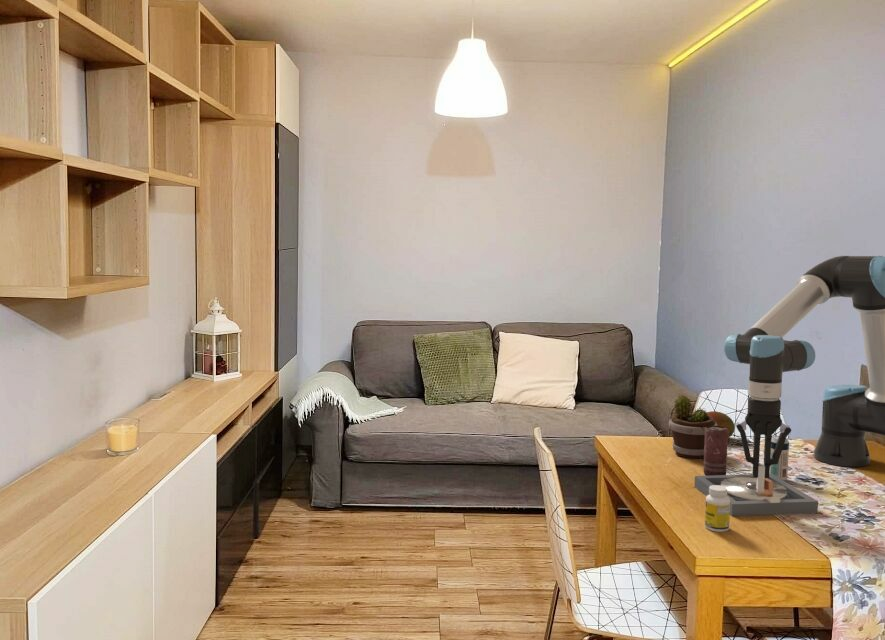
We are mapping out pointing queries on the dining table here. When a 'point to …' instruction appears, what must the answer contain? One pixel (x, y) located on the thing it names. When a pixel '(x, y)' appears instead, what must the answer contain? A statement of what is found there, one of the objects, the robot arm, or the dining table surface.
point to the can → (715, 450)
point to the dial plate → (771, 506)
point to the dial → (753, 489)
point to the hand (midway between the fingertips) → (760, 489)
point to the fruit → (723, 421)
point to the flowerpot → (689, 428)
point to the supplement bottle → (717, 509)
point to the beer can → (780, 460)
